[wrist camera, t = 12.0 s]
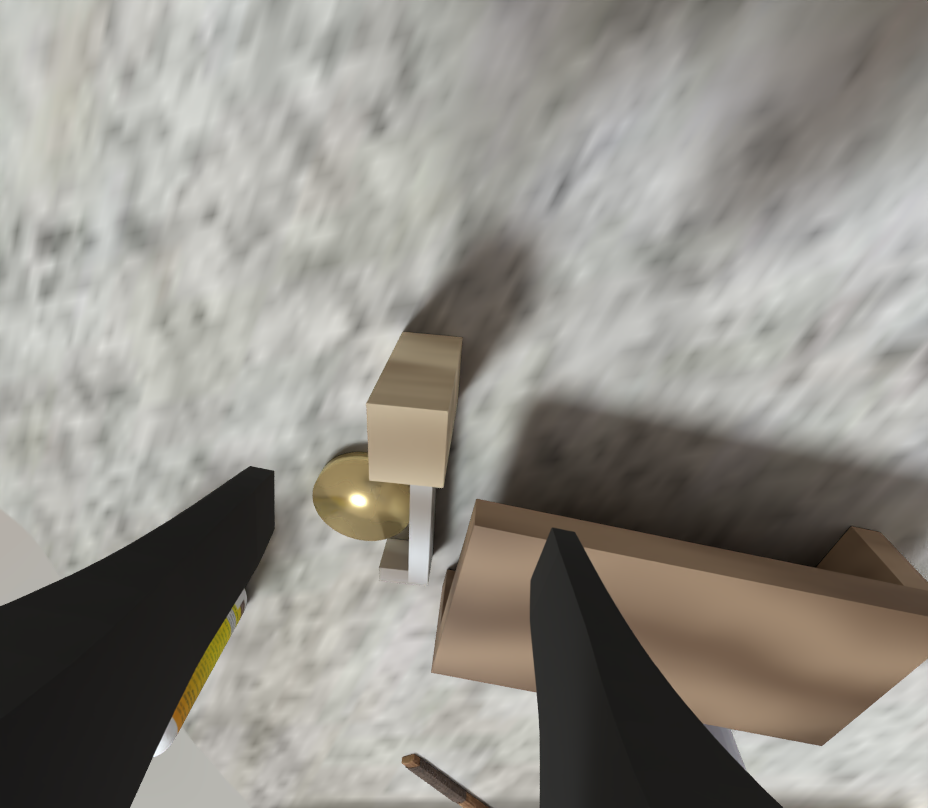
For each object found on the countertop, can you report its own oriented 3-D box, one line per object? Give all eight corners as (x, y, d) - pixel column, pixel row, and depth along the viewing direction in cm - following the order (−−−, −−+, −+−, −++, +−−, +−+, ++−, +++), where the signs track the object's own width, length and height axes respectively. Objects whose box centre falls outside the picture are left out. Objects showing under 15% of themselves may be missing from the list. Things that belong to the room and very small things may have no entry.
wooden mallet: (445, 557, 26) (431, 663, 21) (387, 551, 26) (358, 655, 21) (462, 337, 19) (448, 411, 14) (384, 330, 19) (342, 400, 14)
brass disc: (408, 445, 23) (403, 460, 22) (423, 522, 25) (419, 539, 24) (309, 450, 23) (300, 465, 22) (333, 525, 26) (326, 542, 25)
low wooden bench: (772, 651, 28) (821, 745, 24) (442, 586, 27) (431, 672, 23) (880, 532, 23) (968, 624, 19) (479, 448, 22) (474, 525, 18)
